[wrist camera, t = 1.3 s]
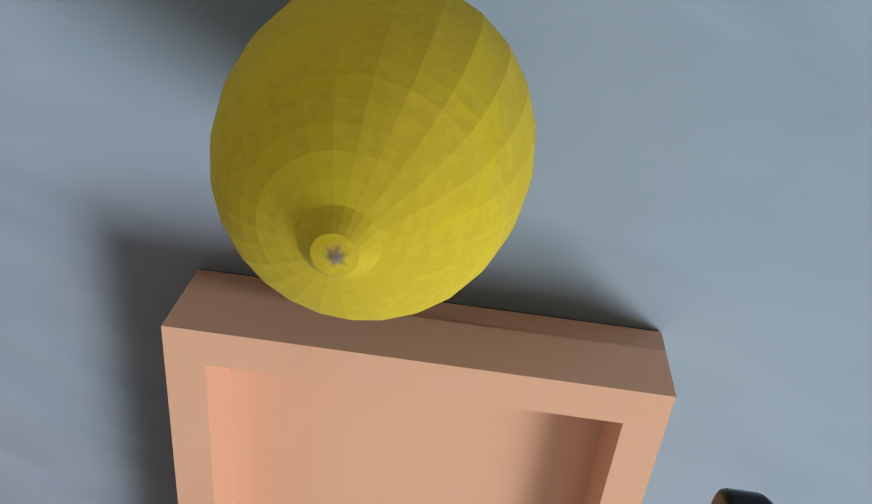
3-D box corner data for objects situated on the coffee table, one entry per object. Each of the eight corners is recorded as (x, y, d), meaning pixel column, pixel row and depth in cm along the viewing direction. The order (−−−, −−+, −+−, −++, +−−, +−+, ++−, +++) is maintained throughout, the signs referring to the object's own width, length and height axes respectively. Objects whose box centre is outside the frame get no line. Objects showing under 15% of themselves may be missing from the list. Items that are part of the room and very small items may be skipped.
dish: (217, 570, 27) (191, 638, 25) (198, 268, 21) (160, 325, 19) (574, 622, 27) (578, 696, 25) (661, 332, 21) (676, 397, 19)
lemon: (500, 205, 19) (486, 444, 13) (272, 155, 19) (133, 368, 13) (564, -30, 17) (590, 114, 10) (296, -92, 16) (133, 12, 10)
